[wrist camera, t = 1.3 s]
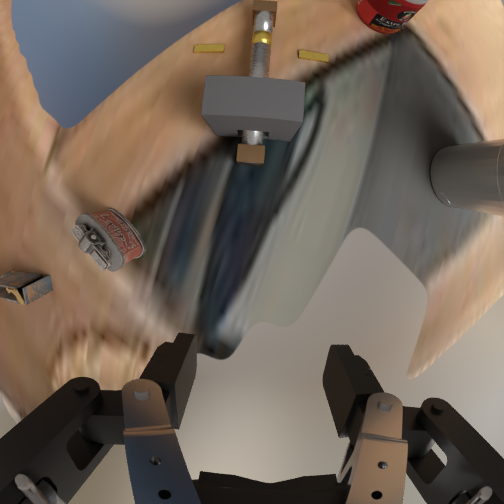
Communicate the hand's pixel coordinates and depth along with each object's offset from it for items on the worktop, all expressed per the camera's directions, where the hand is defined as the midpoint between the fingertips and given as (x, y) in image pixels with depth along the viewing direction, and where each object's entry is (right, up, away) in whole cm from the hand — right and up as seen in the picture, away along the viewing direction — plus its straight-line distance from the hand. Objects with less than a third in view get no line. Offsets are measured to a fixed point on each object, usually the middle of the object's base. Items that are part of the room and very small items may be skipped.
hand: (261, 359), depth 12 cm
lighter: (-18, +7, +25) cm, 32 cm away
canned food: (+19, +41, +17) cm, 48 cm away
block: (0, +21, +22) cm, 30 cm away
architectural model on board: (-39, 0, +28) cm, 48 cm away
